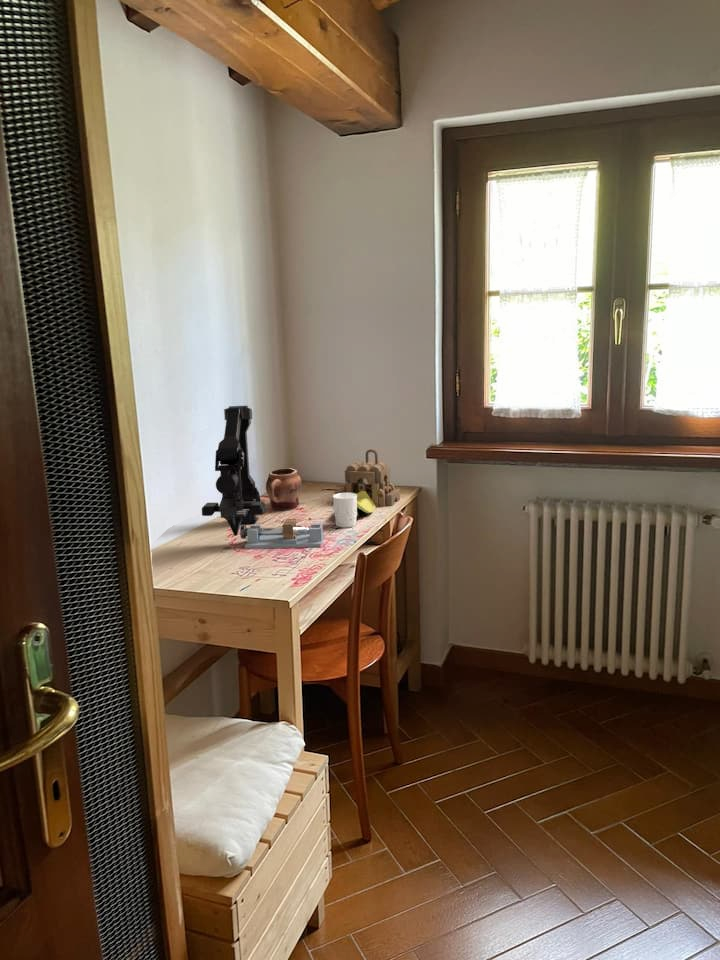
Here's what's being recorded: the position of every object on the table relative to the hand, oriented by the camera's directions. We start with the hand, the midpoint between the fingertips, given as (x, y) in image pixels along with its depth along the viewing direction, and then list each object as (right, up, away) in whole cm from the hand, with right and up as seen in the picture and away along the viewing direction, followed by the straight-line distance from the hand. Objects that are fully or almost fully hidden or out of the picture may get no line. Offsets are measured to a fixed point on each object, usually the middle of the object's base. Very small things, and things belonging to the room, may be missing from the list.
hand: (236, 535), depth 226 cm
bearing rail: (+15, -2, -1) cm, 16 cm away
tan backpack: (+41, +9, +44) cm, 61 cm away
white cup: (+34, +2, +15) cm, 37 cm away
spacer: (+17, -1, -1) cm, 17 cm away
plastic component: (+36, +5, +29) cm, 46 cm away
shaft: (+12, -1, -1) cm, 13 cm away
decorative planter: (+11, +7, +39) cm, 41 cm away
